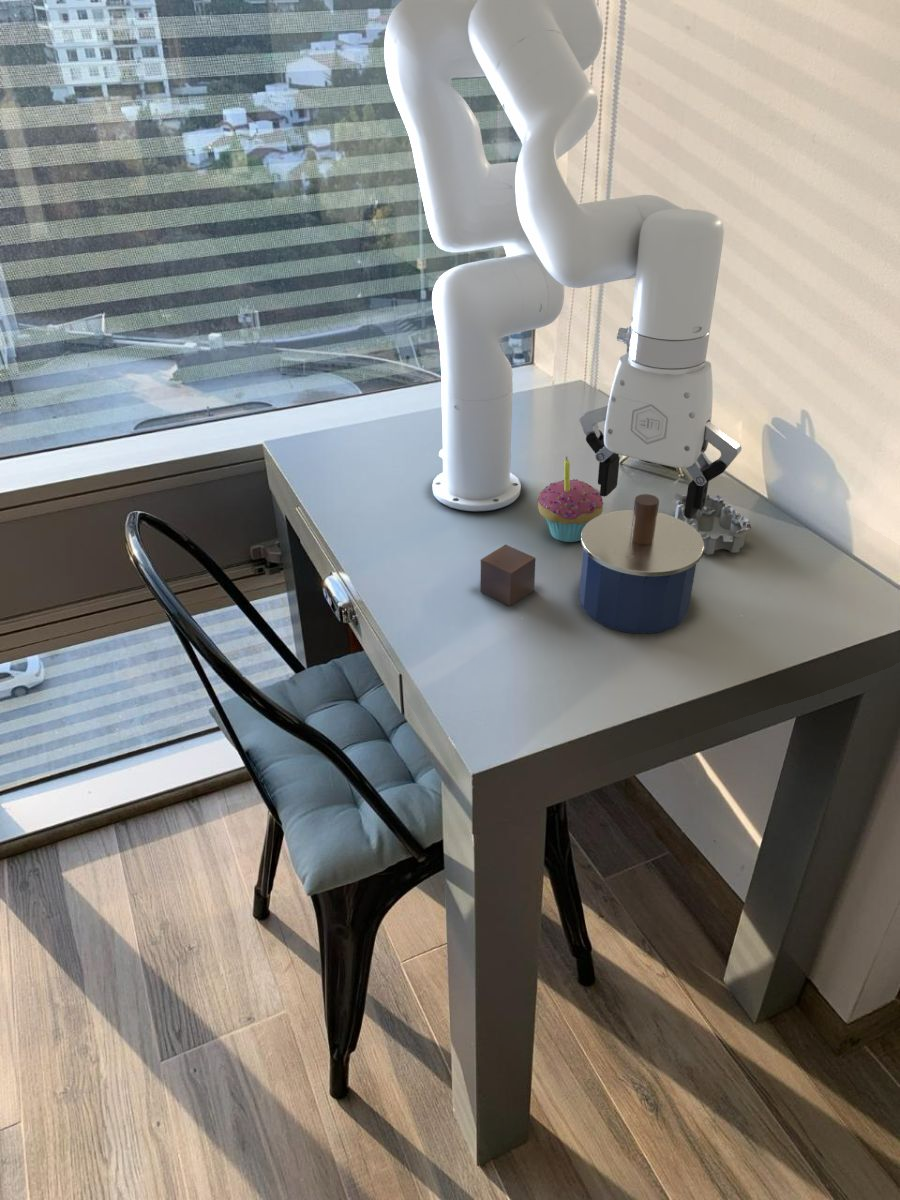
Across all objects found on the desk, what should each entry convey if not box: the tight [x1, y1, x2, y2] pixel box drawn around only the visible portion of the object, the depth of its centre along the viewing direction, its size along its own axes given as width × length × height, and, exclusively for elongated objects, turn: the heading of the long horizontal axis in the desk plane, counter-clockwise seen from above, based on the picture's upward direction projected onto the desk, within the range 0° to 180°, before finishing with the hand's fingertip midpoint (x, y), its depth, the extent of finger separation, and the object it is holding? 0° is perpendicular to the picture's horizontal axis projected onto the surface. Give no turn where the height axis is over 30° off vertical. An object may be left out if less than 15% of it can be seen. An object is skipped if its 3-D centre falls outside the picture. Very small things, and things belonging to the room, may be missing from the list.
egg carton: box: [674, 493, 752, 555], centre depth 117 cm, size 11×8×4 cm
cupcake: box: [537, 455, 604, 543], centre depth 115 cm, size 9×8×12 cm
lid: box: [580, 493, 704, 576], centre depth 99 cm, size 14×14×6 cm
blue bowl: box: [578, 548, 697, 635], centre depth 103 cm, size 13×13×8 cm
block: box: [479, 544, 537, 607], centre depth 106 cm, size 5×5×5 cm
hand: (649, 502), depth 97 cm, fingers open, 9 cm apart
